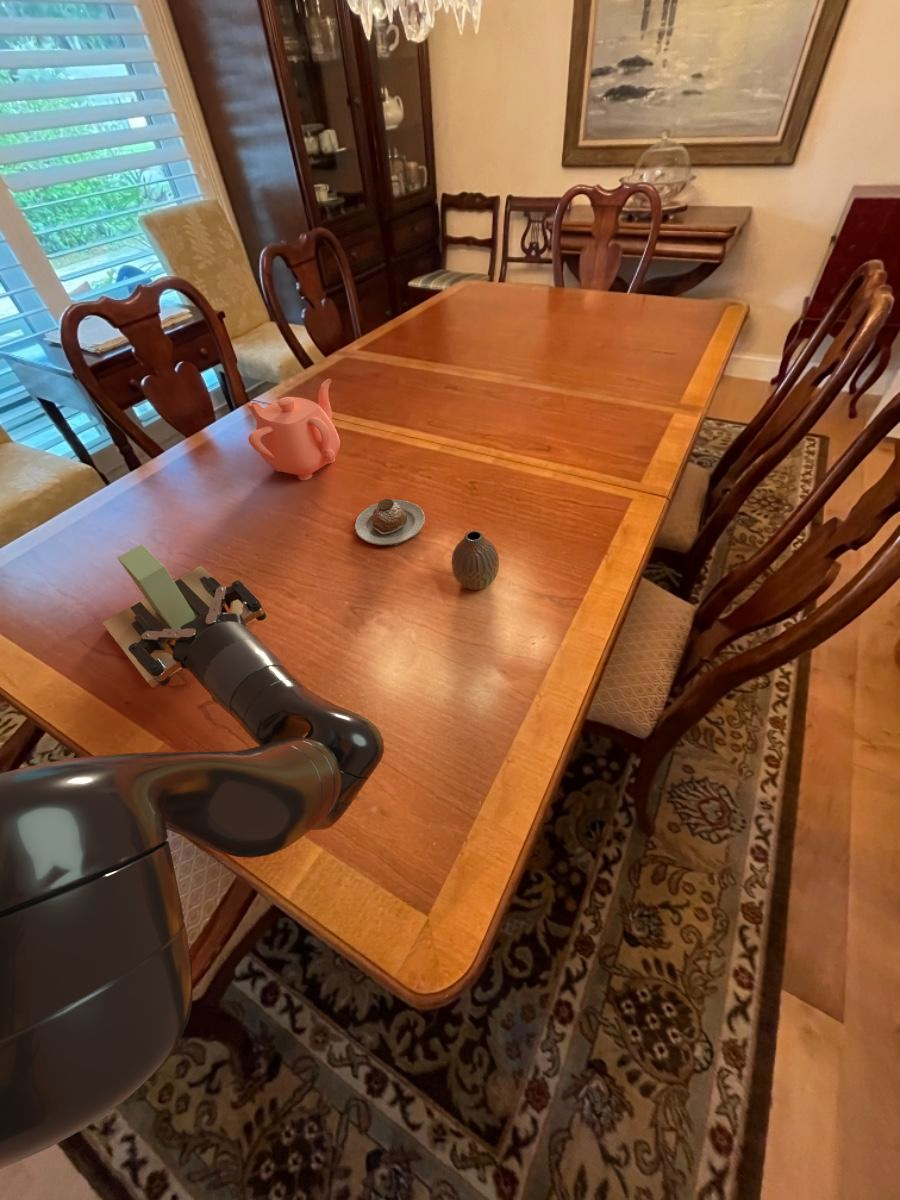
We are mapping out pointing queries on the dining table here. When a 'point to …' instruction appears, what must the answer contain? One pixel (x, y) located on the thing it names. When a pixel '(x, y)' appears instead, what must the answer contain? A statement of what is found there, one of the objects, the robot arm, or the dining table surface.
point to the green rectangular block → (157, 587)
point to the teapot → (296, 434)
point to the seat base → (128, 635)
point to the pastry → (390, 522)
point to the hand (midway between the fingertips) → (172, 600)
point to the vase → (475, 561)
